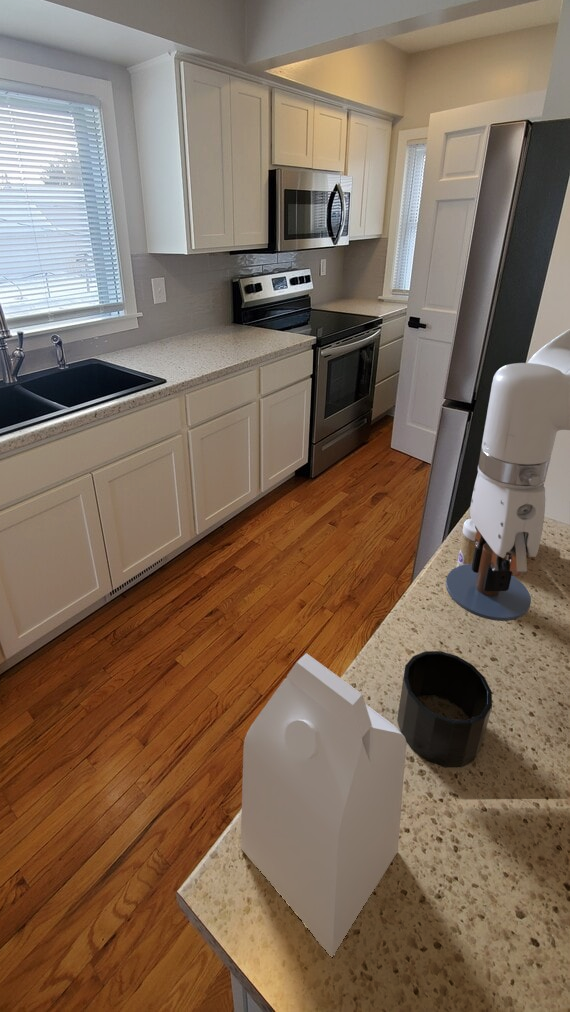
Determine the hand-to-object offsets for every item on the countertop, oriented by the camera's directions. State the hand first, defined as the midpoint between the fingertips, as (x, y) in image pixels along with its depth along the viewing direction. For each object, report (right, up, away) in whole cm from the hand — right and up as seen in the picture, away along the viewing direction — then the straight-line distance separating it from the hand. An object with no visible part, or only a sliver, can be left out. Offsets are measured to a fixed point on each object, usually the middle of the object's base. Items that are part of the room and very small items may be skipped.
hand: (489, 579), depth 68 cm
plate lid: (0, -2, +1) cm, 2 cm away
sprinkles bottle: (+5, -7, +19) cm, 21 cm away
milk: (-26, -24, -16) cm, 39 cm away
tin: (-9, -18, -5) cm, 21 cm away
